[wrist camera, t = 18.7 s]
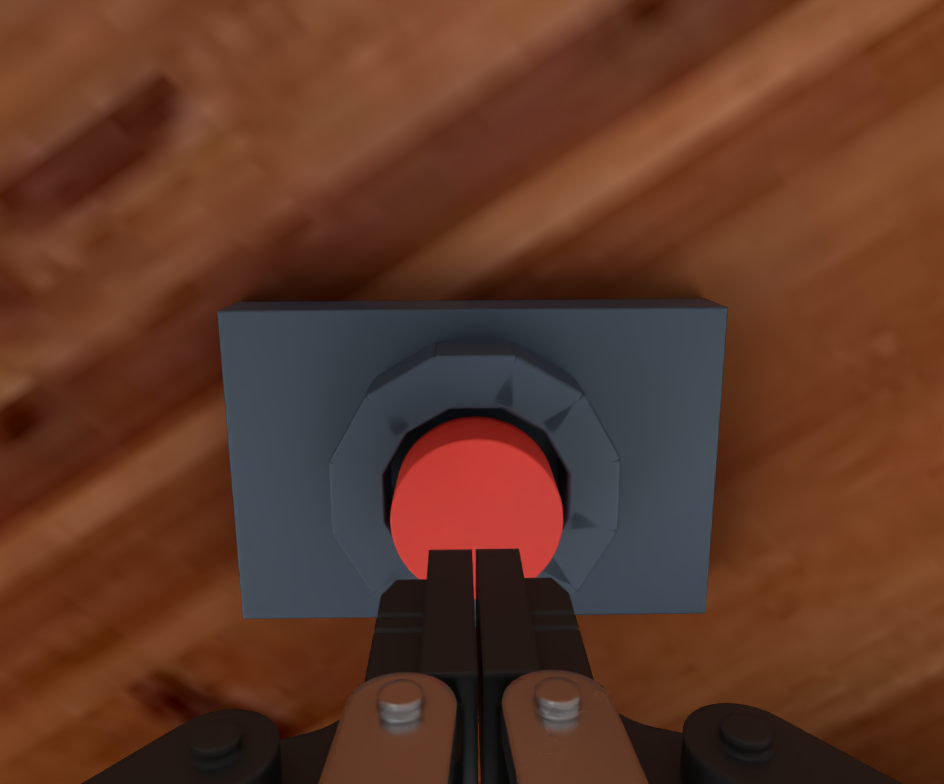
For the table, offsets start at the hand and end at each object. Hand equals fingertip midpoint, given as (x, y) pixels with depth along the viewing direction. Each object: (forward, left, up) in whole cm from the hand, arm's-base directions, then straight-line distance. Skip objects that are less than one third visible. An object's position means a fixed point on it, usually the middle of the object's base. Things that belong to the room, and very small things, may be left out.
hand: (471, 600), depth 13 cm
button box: (0, 0, -8) cm, 8 cm away
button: (0, 0, -5) cm, 5 cm away
